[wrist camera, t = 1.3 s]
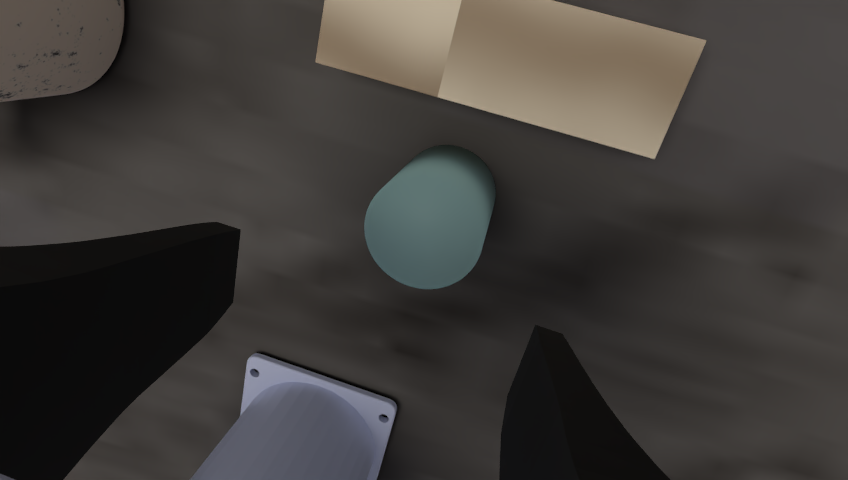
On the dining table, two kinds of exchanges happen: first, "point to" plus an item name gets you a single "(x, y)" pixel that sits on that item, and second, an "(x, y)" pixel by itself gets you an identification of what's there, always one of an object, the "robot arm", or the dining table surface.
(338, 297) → the dining table surface
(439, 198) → the teal peg
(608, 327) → the dining table surface
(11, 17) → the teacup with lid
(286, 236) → the dining table surface
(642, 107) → the notched board
